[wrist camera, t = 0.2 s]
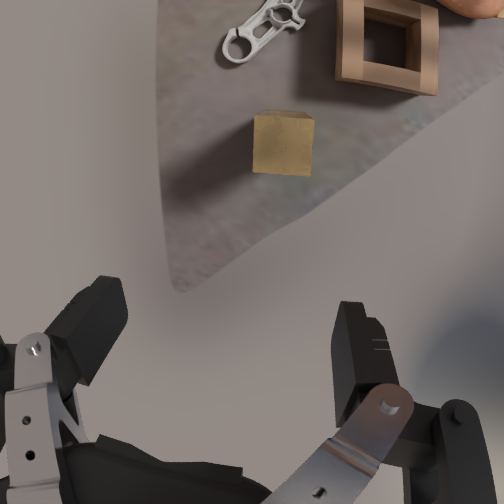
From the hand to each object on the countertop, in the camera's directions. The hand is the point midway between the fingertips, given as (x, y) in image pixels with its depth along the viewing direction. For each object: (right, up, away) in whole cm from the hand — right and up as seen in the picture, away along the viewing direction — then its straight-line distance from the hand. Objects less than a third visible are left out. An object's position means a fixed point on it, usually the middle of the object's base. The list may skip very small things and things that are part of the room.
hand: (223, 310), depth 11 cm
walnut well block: (+15, +25, +16) cm, 33 cm away
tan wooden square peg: (+5, +16, +22) cm, 27 cm away
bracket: (+3, +28, +16) cm, 33 cm away
